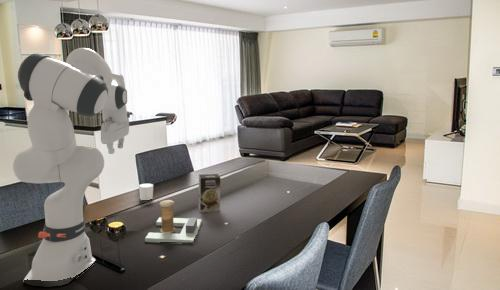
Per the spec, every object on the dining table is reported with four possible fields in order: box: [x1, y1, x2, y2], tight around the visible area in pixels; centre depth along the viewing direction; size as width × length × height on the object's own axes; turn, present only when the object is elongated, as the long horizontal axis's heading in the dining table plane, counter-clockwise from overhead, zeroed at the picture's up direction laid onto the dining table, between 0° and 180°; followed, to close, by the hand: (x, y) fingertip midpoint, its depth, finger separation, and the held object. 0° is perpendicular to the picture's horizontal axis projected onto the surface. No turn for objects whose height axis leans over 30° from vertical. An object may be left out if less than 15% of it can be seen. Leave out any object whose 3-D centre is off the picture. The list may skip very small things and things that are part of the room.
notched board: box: [144, 216, 203, 243], centre depth 156 cm, size 20×18×4 cm
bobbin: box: [159, 199, 176, 234], centre depth 156 cm, size 6×6×12 cm
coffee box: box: [197, 173, 221, 213], centre depth 179 cm, size 9×6×16 cm
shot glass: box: [138, 182, 154, 201], centre depth 191 cm, size 7×7×7 cm
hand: (116, 150), depth 155 cm, fingers open, 8 cm apart
